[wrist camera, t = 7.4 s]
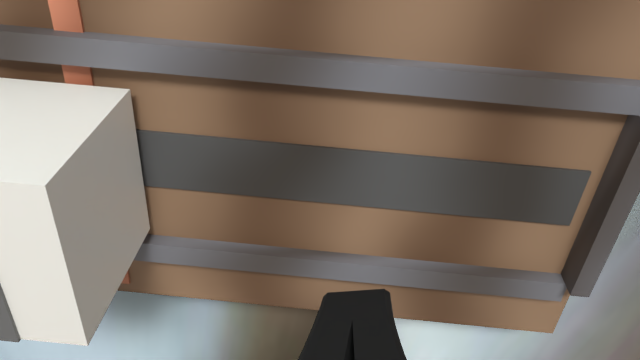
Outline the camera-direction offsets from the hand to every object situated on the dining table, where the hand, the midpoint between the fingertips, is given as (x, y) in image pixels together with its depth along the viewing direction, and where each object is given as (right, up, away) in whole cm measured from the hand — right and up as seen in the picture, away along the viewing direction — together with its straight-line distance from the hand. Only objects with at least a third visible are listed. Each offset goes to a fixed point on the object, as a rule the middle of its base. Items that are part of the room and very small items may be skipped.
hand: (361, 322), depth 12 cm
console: (-2, +5, +7) cm, 8 cm away
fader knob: (-8, +4, +5) cm, 10 cm away
